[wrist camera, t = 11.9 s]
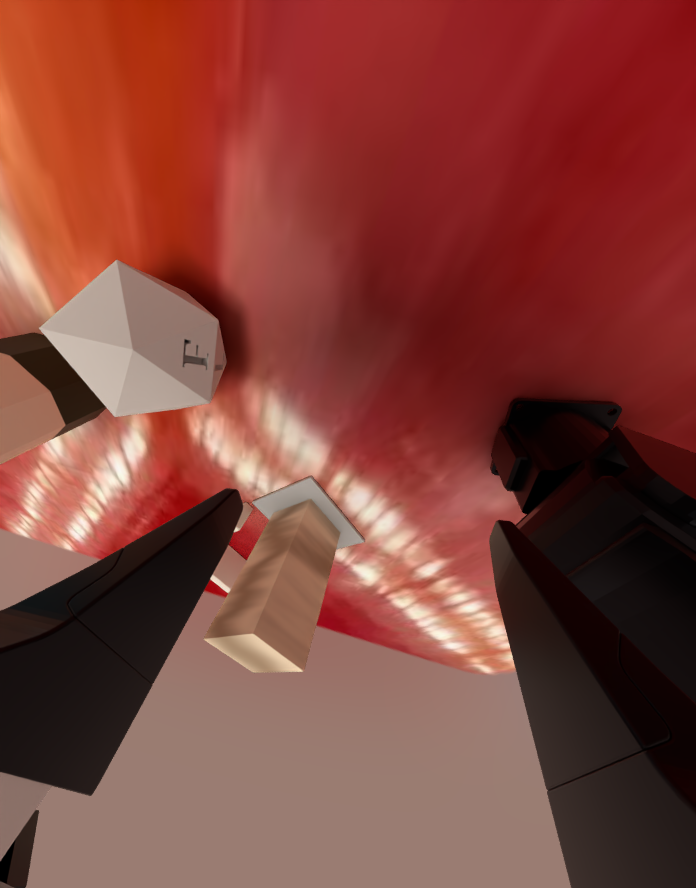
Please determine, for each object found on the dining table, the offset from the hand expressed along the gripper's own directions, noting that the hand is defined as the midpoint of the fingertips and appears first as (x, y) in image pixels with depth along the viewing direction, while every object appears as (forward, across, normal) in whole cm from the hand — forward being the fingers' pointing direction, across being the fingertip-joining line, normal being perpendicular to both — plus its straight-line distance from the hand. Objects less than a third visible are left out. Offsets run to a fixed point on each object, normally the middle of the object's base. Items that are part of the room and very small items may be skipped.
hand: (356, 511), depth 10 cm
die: (+13, +15, -3) cm, 20 cm away
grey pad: (+13, +8, +16) cm, 22 cm away
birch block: (+13, +8, +16) cm, 22 cm away
